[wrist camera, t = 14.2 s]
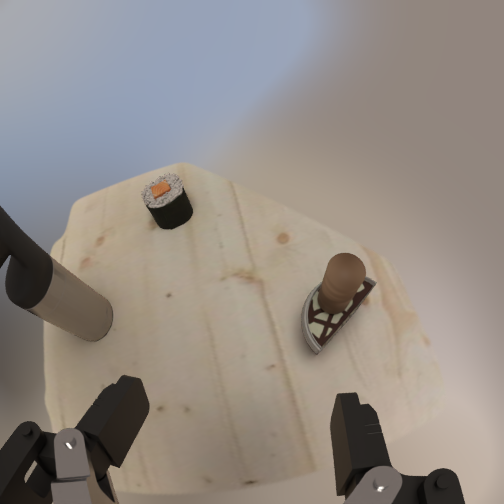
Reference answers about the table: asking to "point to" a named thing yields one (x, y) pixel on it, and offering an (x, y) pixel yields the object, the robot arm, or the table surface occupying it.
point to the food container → (328, 316)
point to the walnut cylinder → (340, 282)
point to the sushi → (167, 201)
